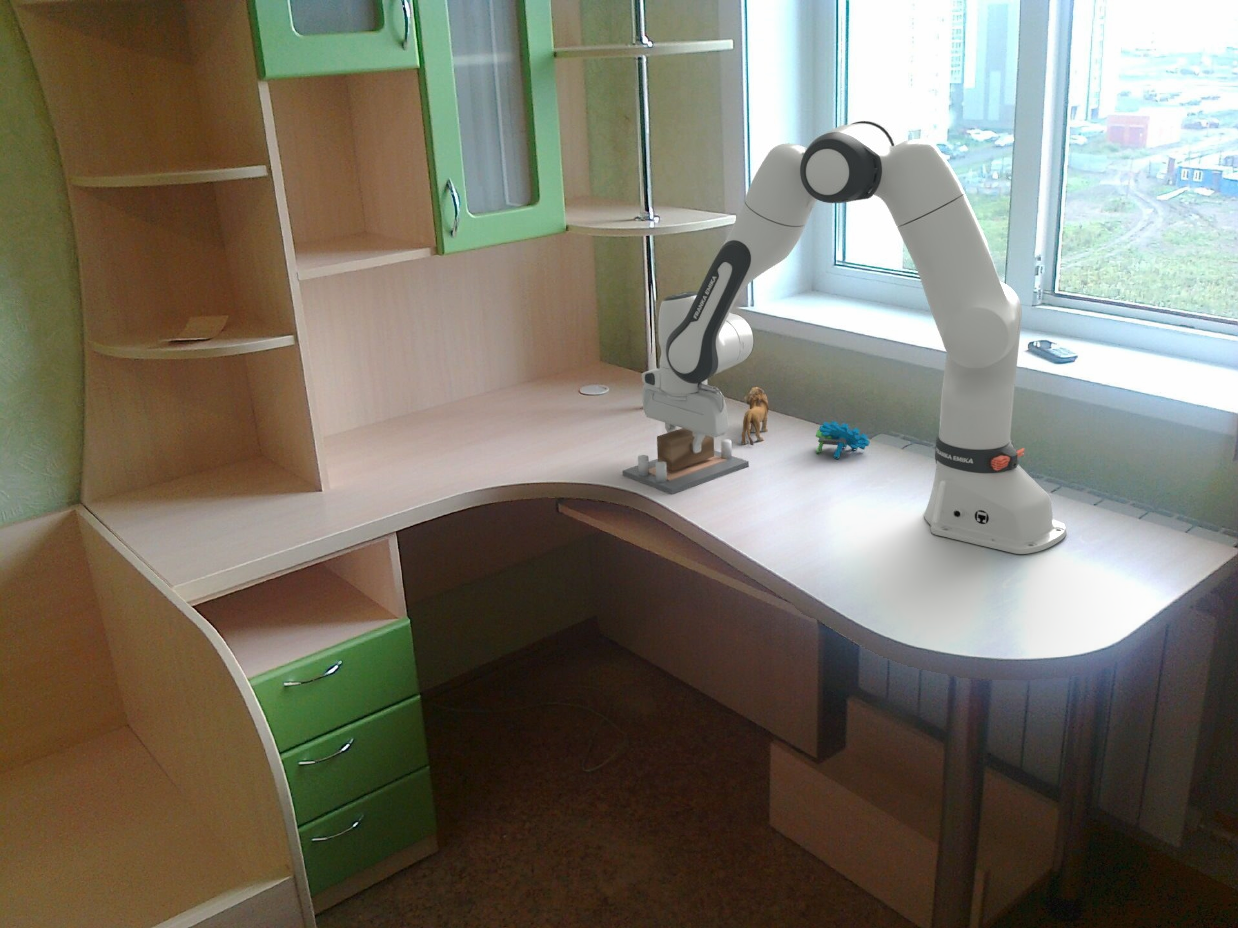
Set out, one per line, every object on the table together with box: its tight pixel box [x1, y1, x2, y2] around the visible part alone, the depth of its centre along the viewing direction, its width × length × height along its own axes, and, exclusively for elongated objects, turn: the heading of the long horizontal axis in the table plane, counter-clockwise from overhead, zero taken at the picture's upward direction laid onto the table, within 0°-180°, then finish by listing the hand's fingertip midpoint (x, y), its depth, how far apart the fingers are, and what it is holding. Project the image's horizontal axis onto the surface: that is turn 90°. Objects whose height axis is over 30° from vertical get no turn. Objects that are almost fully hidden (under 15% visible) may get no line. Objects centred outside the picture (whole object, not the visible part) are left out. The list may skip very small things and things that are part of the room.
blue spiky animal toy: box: [815, 420, 870, 459], centre depth 214 cm, size 11×6×10 cm
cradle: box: [622, 438, 750, 495], centre depth 209 cm, size 14×20×4 cm
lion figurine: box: [741, 386, 770, 446], centre depth 226 cm, size 15×5×9 cm, turn 170°
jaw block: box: [656, 427, 715, 471], centre depth 208 cm, size 4×11×6 cm, turn 130°
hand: (685, 448), depth 208 cm, fingers closed on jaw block, 4 cm apart
